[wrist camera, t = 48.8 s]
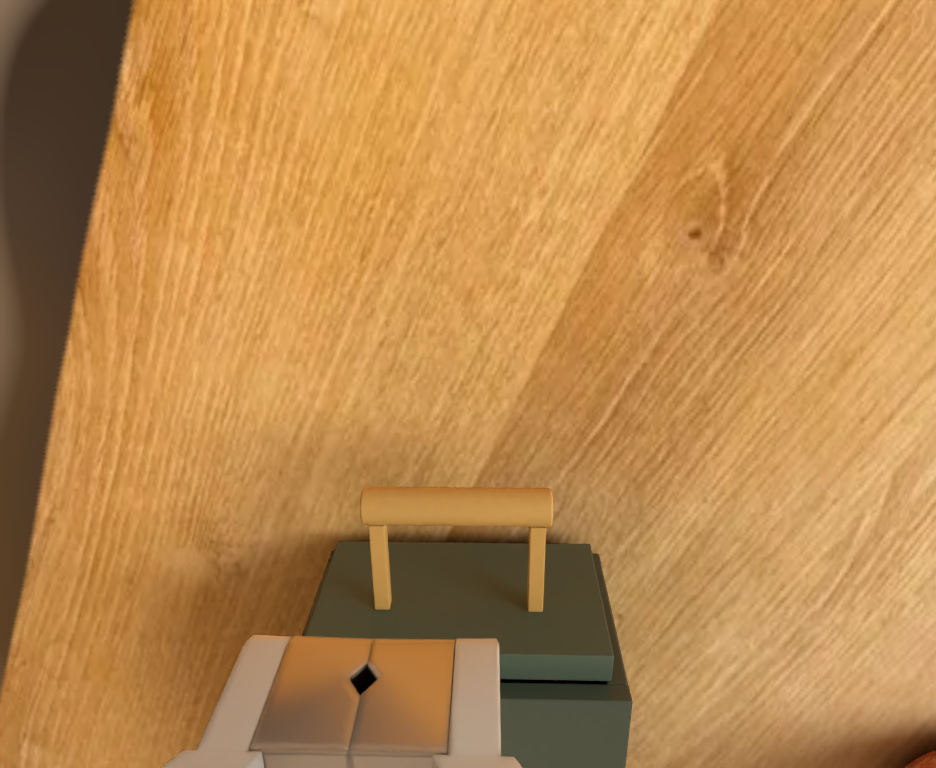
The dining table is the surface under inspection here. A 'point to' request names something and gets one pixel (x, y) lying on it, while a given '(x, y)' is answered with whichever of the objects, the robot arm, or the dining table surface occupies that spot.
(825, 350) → the dining table surface
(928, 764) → the planter
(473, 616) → the drawer
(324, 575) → the cabinet
